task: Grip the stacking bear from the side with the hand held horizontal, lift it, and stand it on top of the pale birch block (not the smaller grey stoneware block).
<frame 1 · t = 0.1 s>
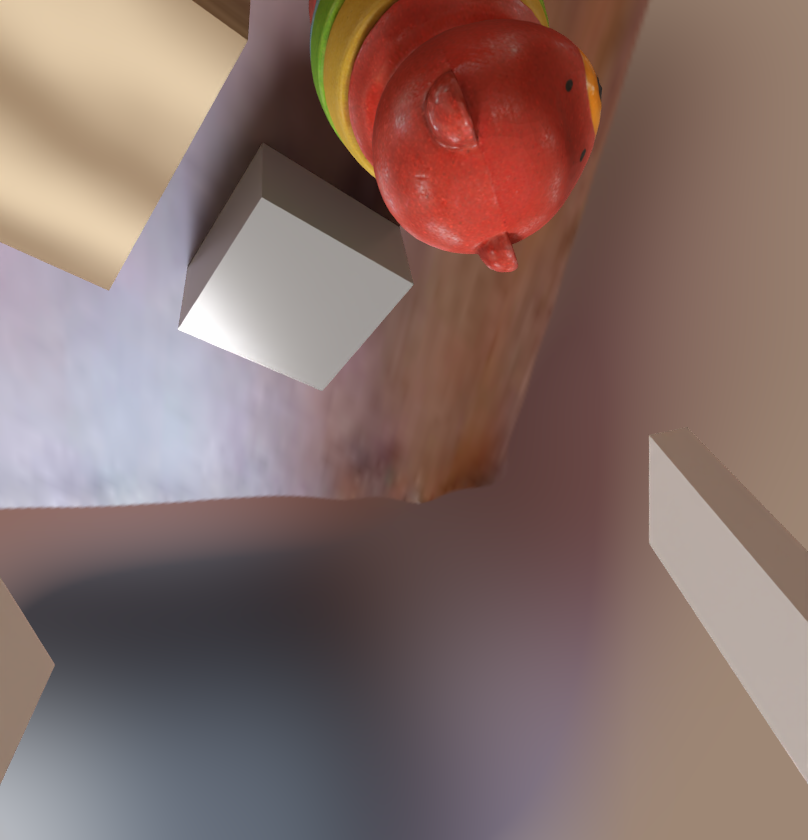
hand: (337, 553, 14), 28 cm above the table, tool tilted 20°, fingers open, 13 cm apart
stacking bear: (412, 4, 31), on the table
stoneware block: (293, 245, 40), on the table
birch block: (47, 16, 30), on the table
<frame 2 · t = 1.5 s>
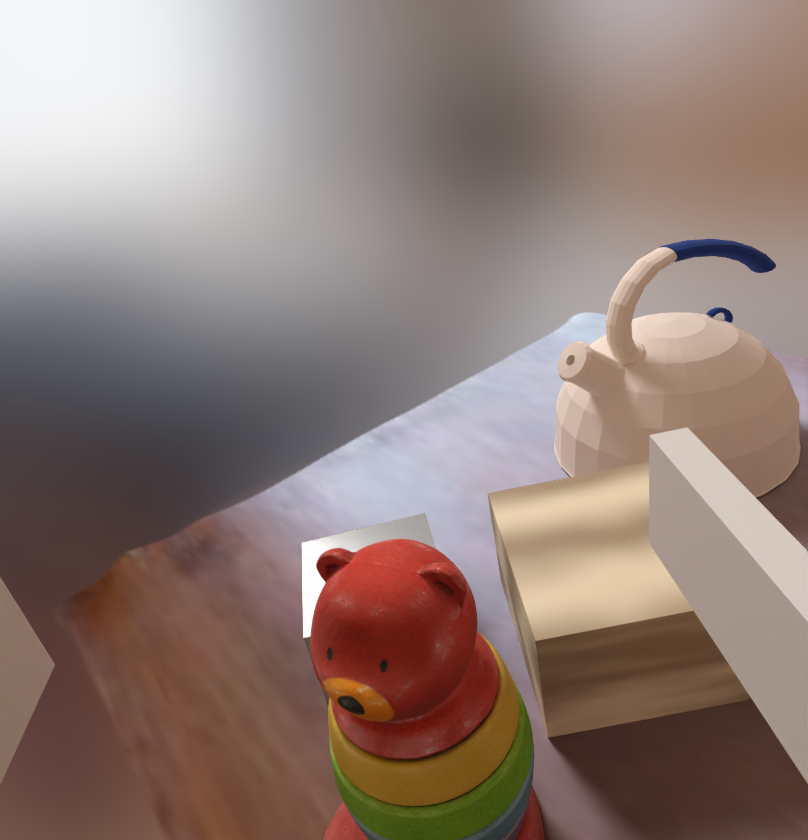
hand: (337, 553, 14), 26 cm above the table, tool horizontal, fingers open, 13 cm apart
stacking bear: (449, 830, 34), on the table
stoneware block: (387, 633, 47), on the table
birch block: (620, 631, 43), on the table
kettle: (668, 445, 60), on the table
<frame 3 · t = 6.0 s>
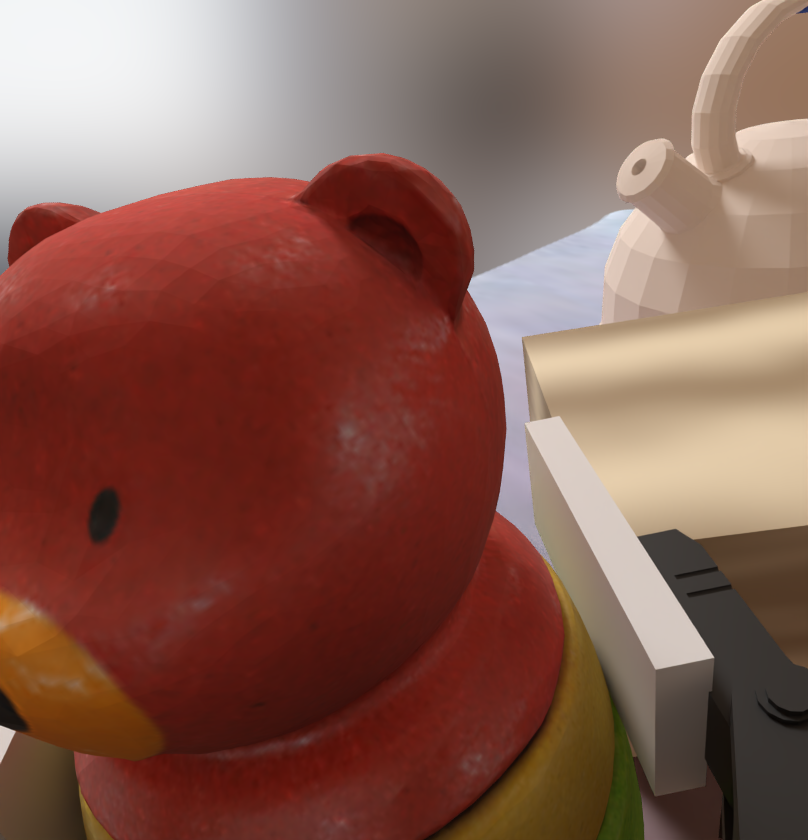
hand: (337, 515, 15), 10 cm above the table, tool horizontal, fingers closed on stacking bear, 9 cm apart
birch block: (745, 578, 24), on the table
kettle: (768, 331, 41), on the table
when the fingers open (19 cm above the table, at t = 10.7 s): stacking bear drops 1 cm, resting on birch block.
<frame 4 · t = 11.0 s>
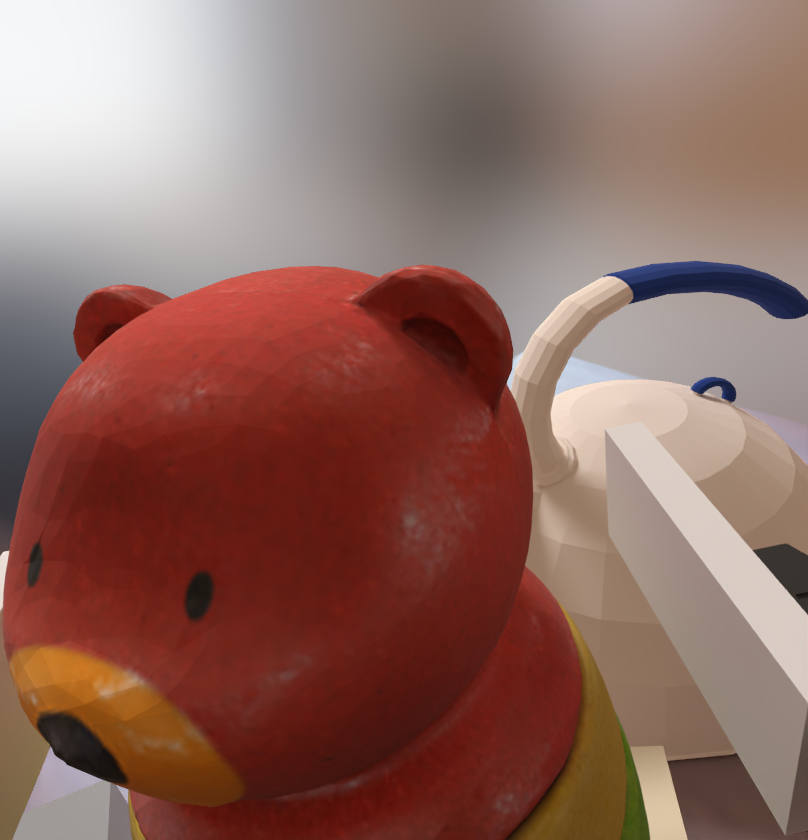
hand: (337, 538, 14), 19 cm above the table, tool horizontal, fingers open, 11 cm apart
kettle: (628, 594, 37), on the table
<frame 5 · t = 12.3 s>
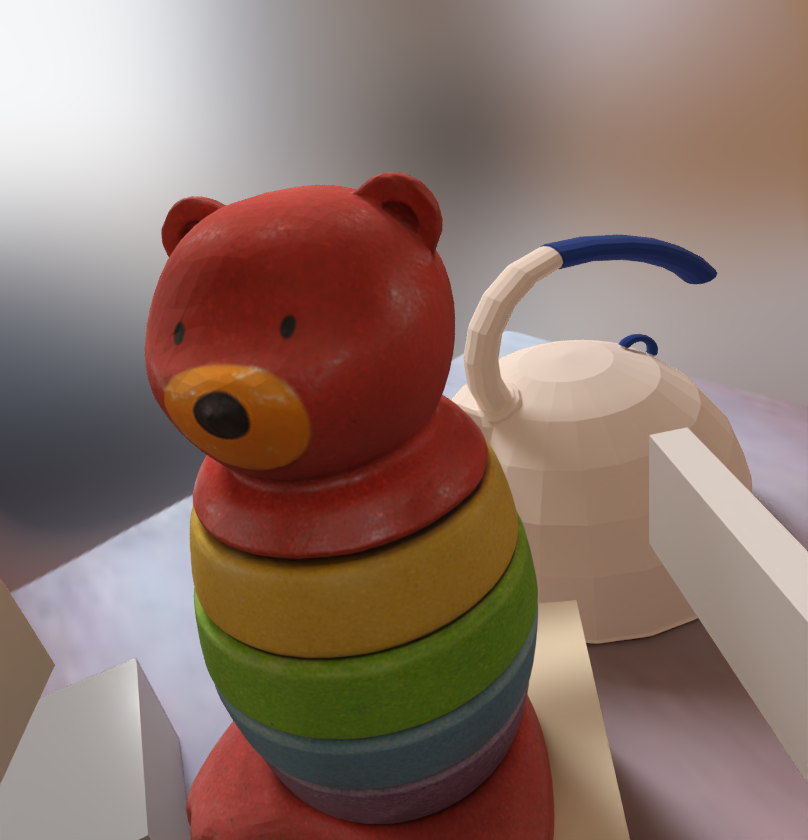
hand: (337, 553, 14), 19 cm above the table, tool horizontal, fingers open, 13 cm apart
stacking bear: (396, 761, 22), point 8 cm above the table
kettle: (574, 525, 43), on the table
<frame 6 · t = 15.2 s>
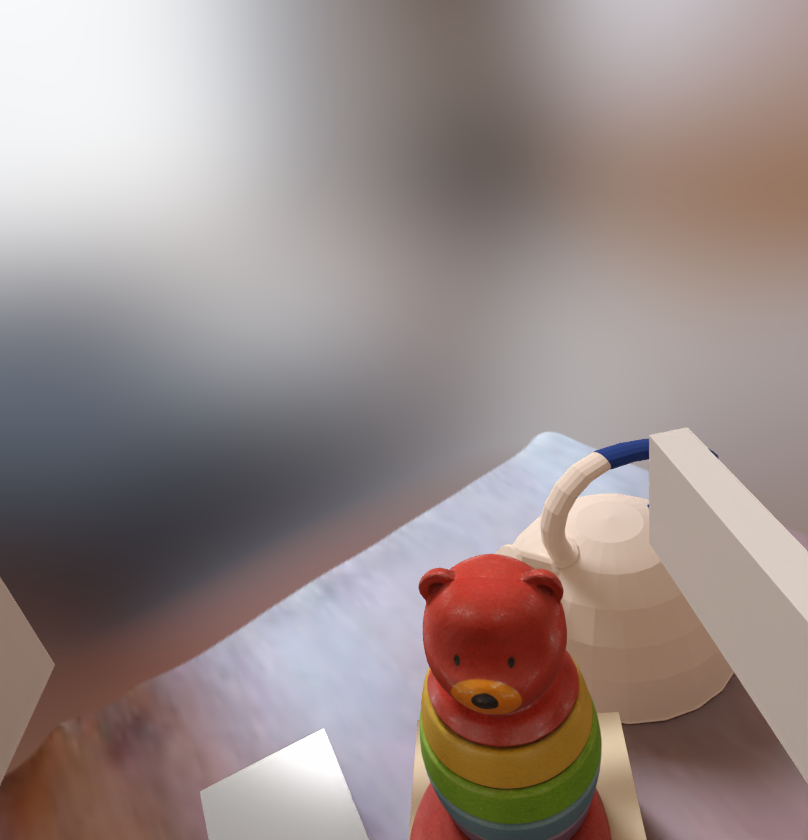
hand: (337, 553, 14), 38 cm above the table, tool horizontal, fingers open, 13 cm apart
stacking bear: (516, 816, 38), point 8 cm above the table, touching birch block
kettle: (611, 625, 59), on the table
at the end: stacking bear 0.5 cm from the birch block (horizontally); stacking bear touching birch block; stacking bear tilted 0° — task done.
